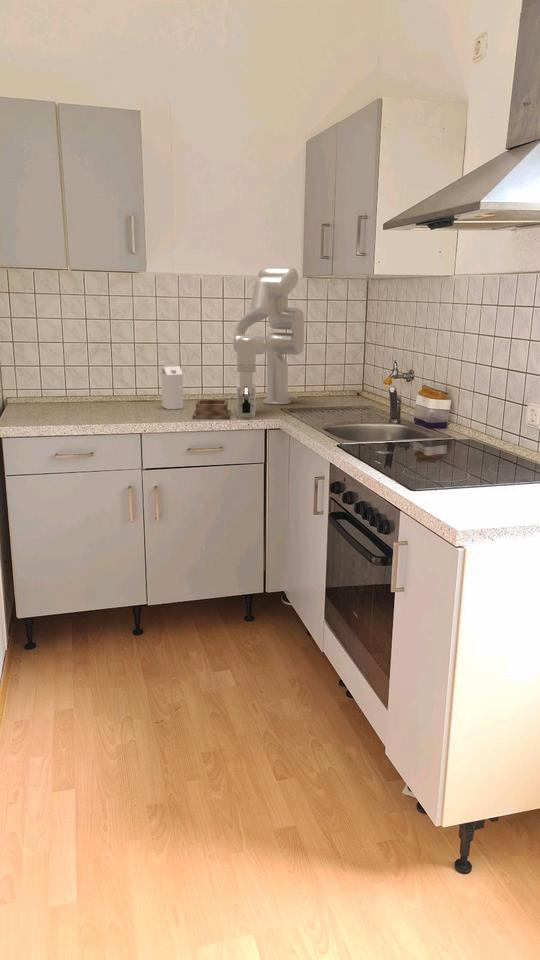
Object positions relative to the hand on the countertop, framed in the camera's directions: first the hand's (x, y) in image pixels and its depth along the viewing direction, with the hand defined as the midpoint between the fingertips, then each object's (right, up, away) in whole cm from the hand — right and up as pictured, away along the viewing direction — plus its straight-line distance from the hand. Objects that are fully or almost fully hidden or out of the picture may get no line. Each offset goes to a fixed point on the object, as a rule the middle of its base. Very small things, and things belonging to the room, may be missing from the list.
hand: (246, 410), depth 289 cm
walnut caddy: (-14, -2, 0) cm, 14 cm away
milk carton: (-32, +3, +17) cm, 37 cm away
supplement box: (0, -2, +1) cm, 3 cm away
